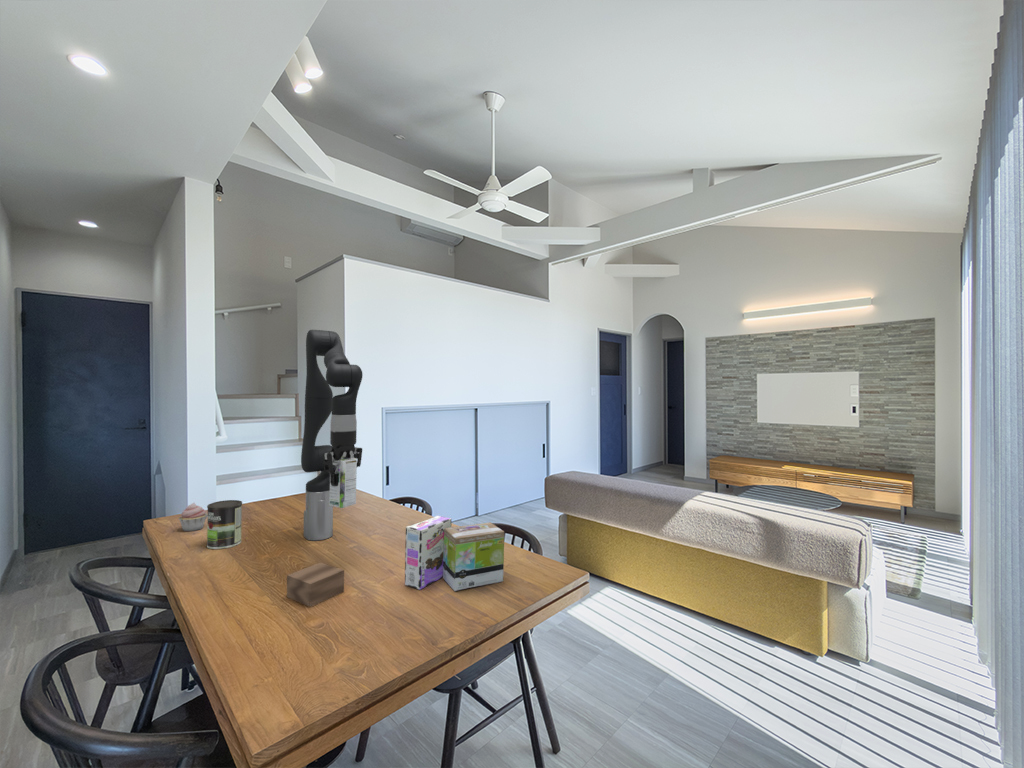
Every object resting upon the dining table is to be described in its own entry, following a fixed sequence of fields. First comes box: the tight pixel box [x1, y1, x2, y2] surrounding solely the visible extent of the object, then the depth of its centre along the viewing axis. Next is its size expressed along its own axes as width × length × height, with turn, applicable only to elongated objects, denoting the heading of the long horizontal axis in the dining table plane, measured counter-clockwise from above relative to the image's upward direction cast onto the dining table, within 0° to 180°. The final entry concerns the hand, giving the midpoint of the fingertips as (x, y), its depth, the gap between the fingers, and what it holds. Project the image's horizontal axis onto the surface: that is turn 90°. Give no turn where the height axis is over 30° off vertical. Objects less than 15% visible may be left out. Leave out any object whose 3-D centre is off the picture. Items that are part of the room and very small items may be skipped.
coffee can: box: [206, 499, 243, 550], centre depth 157 cm, size 10×10×14 cm
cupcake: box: [178, 502, 208, 532], centre depth 173 cm, size 9×9×10 cm
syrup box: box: [329, 458, 358, 509], centre depth 139 cm, size 6×6×14 cm
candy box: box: [404, 515, 452, 590], centre depth 130 cm, size 14×6×16 cm, turn 149°
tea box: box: [442, 521, 505, 592], centre depth 129 cm, size 15×10×15 cm
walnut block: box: [286, 562, 345, 608], centre depth 120 cm, size 10×10×6 cm
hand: (342, 483), depth 139 cm, fingers closed on syrup box, 6 cm apart
